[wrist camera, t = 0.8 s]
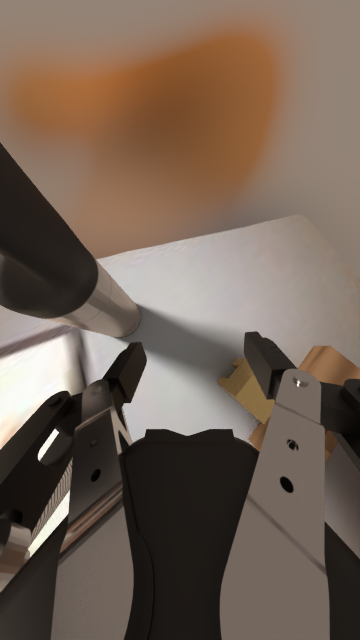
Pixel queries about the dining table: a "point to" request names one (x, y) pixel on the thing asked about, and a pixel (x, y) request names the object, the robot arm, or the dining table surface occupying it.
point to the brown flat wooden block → (326, 369)
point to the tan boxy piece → (247, 391)
